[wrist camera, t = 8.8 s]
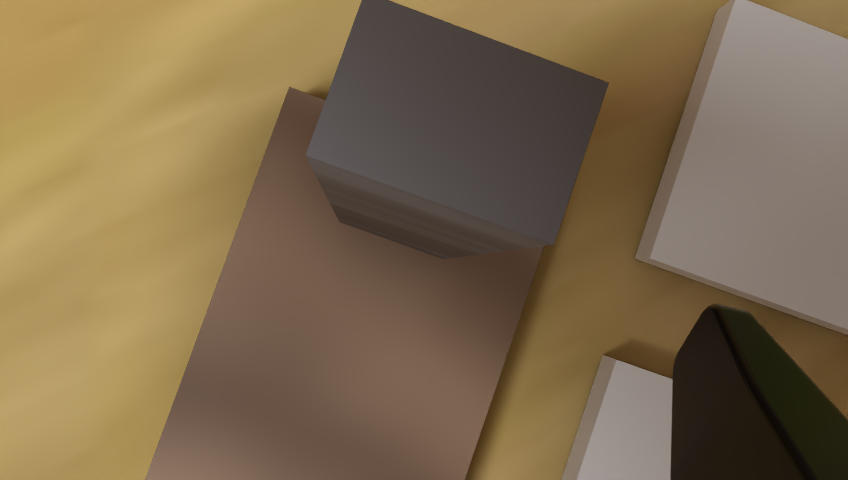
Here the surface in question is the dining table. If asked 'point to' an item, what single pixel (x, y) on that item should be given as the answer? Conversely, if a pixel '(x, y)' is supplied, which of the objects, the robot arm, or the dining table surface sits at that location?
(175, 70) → the dining table surface
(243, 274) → the grey post stand
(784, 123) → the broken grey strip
